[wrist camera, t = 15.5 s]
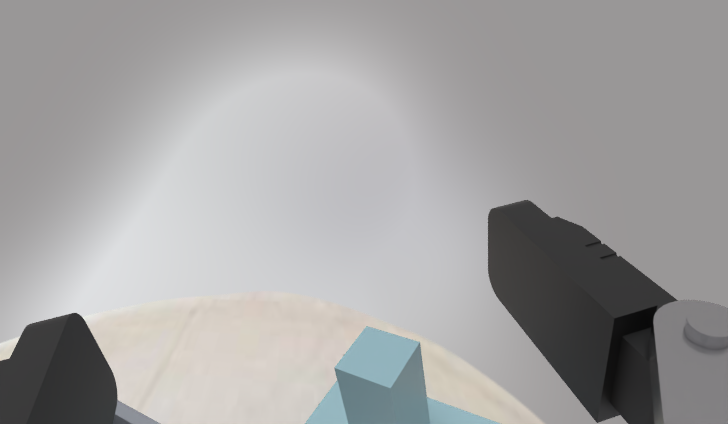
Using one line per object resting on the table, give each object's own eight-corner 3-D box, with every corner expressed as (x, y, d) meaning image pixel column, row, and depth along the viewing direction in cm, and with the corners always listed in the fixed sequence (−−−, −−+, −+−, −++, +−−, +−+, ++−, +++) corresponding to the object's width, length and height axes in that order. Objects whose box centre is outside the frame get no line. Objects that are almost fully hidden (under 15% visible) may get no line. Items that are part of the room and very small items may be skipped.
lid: (256, 500, 33) (206, 386, 27) (347, 375, 41) (323, 268, 36) (484, 634, 25) (476, 510, 20) (542, 446, 33) (546, 323, 28)
